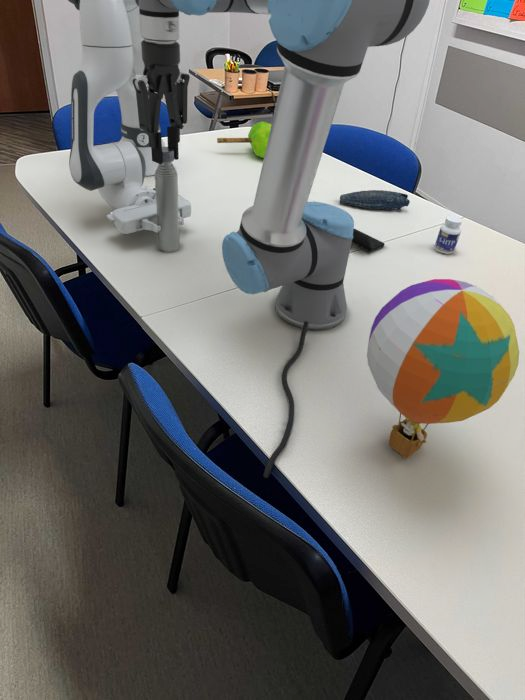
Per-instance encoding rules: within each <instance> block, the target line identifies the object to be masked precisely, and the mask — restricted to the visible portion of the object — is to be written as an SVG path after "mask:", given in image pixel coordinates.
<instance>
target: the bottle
mask: <svg viewBox="0 0 525 700" xmlns="http://www.w3.org/2000/svg"><path fill="white" fill-rule="evenodd" d="M172 162H173V161H172ZM172 162H163V164H159V165H158V167H157V168H156V170H155V175H154V186H155V187H154V188H155V189H156V206H157V223H159V224H160V225H161V230H162V231H160V232H157V238H158V239H157V240H158V241H157V242H158V249H159V250H160V251H162V252H164V253H173V252H176V251H178V250H180V226H179V210H178V195H179V183H178V181H179V180H178V179H179V178H178V176H179V175H178V171H177V170H176V167H175V166H174V164H173V163H172Z"/></svg>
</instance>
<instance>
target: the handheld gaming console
mask: <svg viewBox="0 0 525 700" xmlns="http://www.w3.org/2000/svg"><path fill="white" fill-rule="evenodd" d="M351 244H354V245H356V246H358V247H359V248H361V249H363V250H365V251H367V252H368V253H372V252H375V251H377V250H379V249H381V248H384V247H385V243H384V242H383V241H380V240H379V239H378V238H375V237H372V236H370V235H368V234H366V233H365V232H363V231H360V230H359V229H356V228H354V230H353V239H352V243H351Z"/></svg>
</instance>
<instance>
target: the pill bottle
mask: <svg viewBox="0 0 525 700" xmlns="http://www.w3.org/2000/svg"><path fill="white" fill-rule="evenodd" d="M462 222H463V219H461V218H460V217H458V216H455V215H448V216H446V218H445V220H444V223H443V224H442V225H440V228H439V231H438V234H437V237H436V240H435V243H434V250H435V251H437V252H439V253H441V254H447V255H449V254H453V253H454V252H455V250H456V247H457V244H458V242H459V239H460V236H461V233H462V229H461V225H462Z"/></svg>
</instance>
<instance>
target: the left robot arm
mask: <svg viewBox="0 0 525 700" xmlns="http://www.w3.org/2000/svg"><path fill="white" fill-rule="evenodd" d="M67 1H68V2H69V3H70V4H72V5H74V7H75V9H76V10H77V11H79V32H80V41H81V42H80V43H81V48H82V49H81V51H82V55H81V61H80V66H79V69H78V71H77V72H76V73H74V74H73V76H72V80H71V88H70V89H71V92H70V121H71V122H70V139H71V140H70V151H69V158H68V159H69V161H68V162H69V163H68V166H69V172H70V175H71V178H72V180H73V181H74V183H76V184H77V185H78V186H79V187H81V188H83V189H85V190H87V191H90V192H92V191H95V190H98V193H99V195H100V197H101V198H102V199H103V201H104V202H105V203H107V204H108V205H109V206H110V207H111V208H112V209H114V210H113V211H110V212H109V213H108V214H106V219H107V220H108V221H109V222H111V223H113V225H114V227H115V228H116V229H117V230H118V231H119V232H120V233H121V234H126V235H129V234H133V233H136V232H140V231H143V230H145V231H152V232H153V233H156V234H158V232H160V231H162V230H161V225H160V224H159V223H157V206H156V189H155V187H147V186H143V184H144V182H145V179H146V176H147V177H148V176H155V170H156V168H157V167H158V165H159V164H158V163H156V162H154V161H152V151H151V147H149V139H148V132H147V131H145V130H142V129H140V127H139V118H138V108H137V98H136V90H135V88H134V85H133V82H132V81H133V79H134V78H136V79H138V78H137V76H136V75H139V76H143V71H144V67H145V66H144V62H143V60H142V49H141V42H142V41H143V40H144V39H143V38H142V37H141V36H140V17H139V0H67ZM180 63H181V62H180ZM180 63H179V64H178V67H179V66H180ZM147 90H148V88H147ZM114 92H116V94H117V97H118V102H119V109H120V115H121V116H120V118H121V123H120V134H121V138H120V140H119V141H115V142H109V143H105V144H97V145H94V125H95V122H94V121H95V119H94V118H95V110H96V108H97V106H98V105H99V103H100V102H101V101H102V100H103V99H104V98H106V97H107V96H109V95H110V94H112V93H114ZM148 96H149V95H148ZM158 132H160V133H161V126H160V124H159V126H158ZM162 147H166V142H165V141H164V140H163V139H162ZM178 210H179V227H180V226H181V227H182V226H184V225H185V220H184V219H186V218H189V217H191V216H192V203H191V202H190V201H189V200H188V199H187V198H185V197H183V196H181V195H179V194H178Z"/></svg>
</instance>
